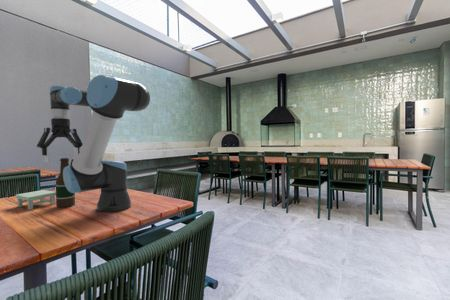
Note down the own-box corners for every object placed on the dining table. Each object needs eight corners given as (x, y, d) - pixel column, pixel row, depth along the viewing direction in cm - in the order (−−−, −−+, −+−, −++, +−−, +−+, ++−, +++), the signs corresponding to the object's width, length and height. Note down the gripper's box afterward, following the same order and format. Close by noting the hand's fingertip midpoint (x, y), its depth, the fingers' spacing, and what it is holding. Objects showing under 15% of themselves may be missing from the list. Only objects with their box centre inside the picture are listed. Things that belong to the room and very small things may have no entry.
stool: (56, 203, 119) (56, 192, 119) (28, 210, 108) (28, 197, 108) (43, 200, 124) (43, 189, 124) (15, 206, 114) (15, 194, 113)
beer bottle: (65, 208, 111) (64, 159, 110) (52, 207, 113) (50, 158, 112) (78, 204, 119) (77, 157, 118) (66, 203, 120) (64, 157, 119)
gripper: (80, 120, 127) (82, 159, 128) (26, 116, 104) (28, 163, 105) (89, 120, 124) (91, 159, 124) (35, 115, 101) (37, 163, 102)
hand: (62, 161), depth 115 cm, fingers open, 13 cm apart
